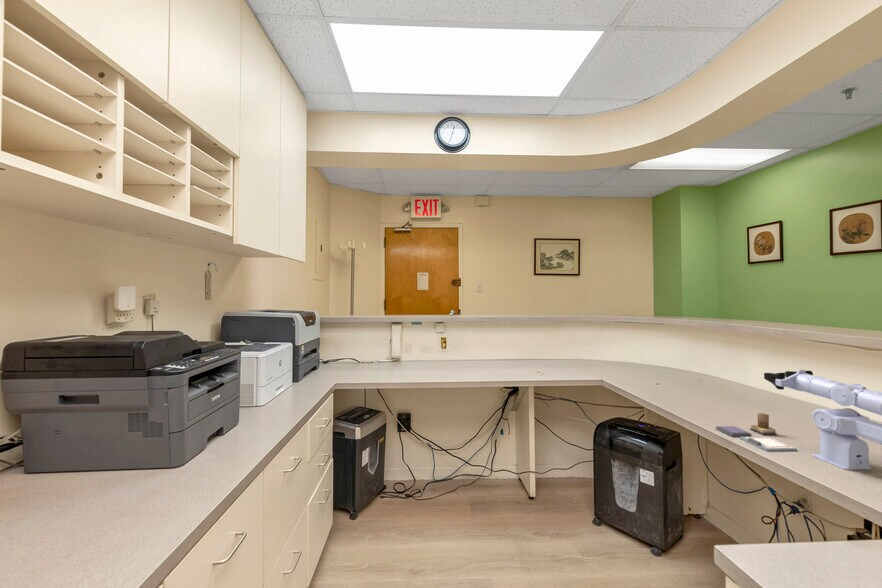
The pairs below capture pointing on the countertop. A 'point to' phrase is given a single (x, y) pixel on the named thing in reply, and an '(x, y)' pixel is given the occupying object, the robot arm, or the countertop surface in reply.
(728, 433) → the ink pad
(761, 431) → the stamp
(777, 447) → the clipboard
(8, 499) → the countertop surface
